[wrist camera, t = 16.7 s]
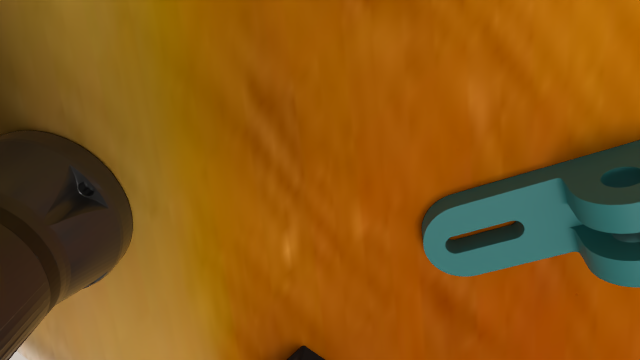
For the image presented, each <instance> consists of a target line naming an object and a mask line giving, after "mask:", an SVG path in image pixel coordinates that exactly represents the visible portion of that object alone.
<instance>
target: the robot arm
mask: <svg viewBox="0 0 640 360" xmlns="http://www.w3.org/2000/svg"><path fill="white" fill-rule="evenodd" d="M132 228H133V225H132V215H131V210H130V206H129V203H128V200H127V198H126V195H125V193H124V191H123V189H122V188H121V186H120V184H119V183H118V181H117V180H116V178H115V177H114V176H113V174H112V173H111V172H110V171H109V170H108V169H107V167H106V166H105V165H104V164H103V163H102V162H100V161H99V160H98V159H97V158H96V157H95V156H93V155H92V154H91V153H90V152H88V151H87V150H85V149H84V148H82V147H81V146H79V145H77V144H75V143H73V142H71V141H69V140H67V139H65V138H62V137H59V136H57V135H53V134H50V133H45V132H39V131H15V132H10V133H7V134H4V135H1V136H0V360H9V359H10V358H11V357H12V355H13V354H14V353H15V352H16V351H17V349H18V348H19V347H20V346H21V345H22V344H23V342H24V341H25V340H26V339H27V338H28V336H29V335H30V334H31V333H32V332H33V330H34V329H35V328H36V327H37V326H38V324H39V323H40V322H41V321H42V320H43V318H44V317H45V316H46V315H47V314H48V313H49V312H50V310H51V309H52V308H53V307H54V306H55V305H56V304H58V303H60V302H61V301H63V300H65V299H66V298H68V297H70V296H71V295H73V294H75V293H76V292H78V291H80V290H81V289H83V288H86V287H89V286H91V285H93V284H95V283H96V282H98V281H100V280H101V279H103V278H104V277H105V276H106V275H107V274H108V273H109V272H110V271H111V270H112V269H113V268H114V267H115V265H116V264H117V263H118V262H119V260H120V259H121V258H122V257H123V255H124V254H125V252H126V251H127V249H128V246H129V244H130V241H131V237H132Z"/></svg>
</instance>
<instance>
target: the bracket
mask: <svg viewBox="0 0 640 360" xmlns="http://www.w3.org/2000/svg"><path fill="white" fill-rule="evenodd" d="M509 221H516V222H515V223H514V224H512V225H508V226H504V227H501V228H497V229H493V230H489V231H486V232H482V233H478V234H474V235H470V236H467V237H463V238H459V239H455V240H450V239H449V238H450V237H453V236H457V235H460V234H464V233H468V232H472V231H475V230H479V229H483V228H487V227H490V226H494V225H498V224H502V223H505V222H509ZM422 236H423V245H424V250H425V253H426V256H427V257H428V259H429V260H430V262H431V263H432V264H433V265H434V266H435V267H437V268H438V269H440V270H441V271H443V272H445V273H448V274H451V275H455V276H475V275H479V274H483V273H487V272H492V271H496V270H500V269H504V268H508V267H512V266H516V265H520V264H524V263H528V262H533V261H537V260H541V259H545V258H549V257H553V256H557V255H561V254H565V253H570V252H579V253H580V254H581V256H582V257H583V259H584V261H585V263H586V264H587V266H588V268H589V269H590V270H591V272H592V273H593V274H595V275H596V276H597V277H599V278H600V279H602V280H604V281H607V282H609V283H612V284H616V285H620V286H626V287H640V140H638V141H635V142H631V143H628V144H624V145H621V146H618V147H614V148H611V149H607V150H604V151H600V152H597V153H593V154H590V155H586V156H583V157H579V158H576V159H573V160H569V161H566V162H562V163H559V164H555V165H552V166H548V167H545V168H541V169H538V170H534V171H531V172H527V173H524V174H521V175H517V176H514V177H510V178H507V179H503V180H500V181H496V182H493V183H489V184H486V185H482V186H479V187H475V188H472V189H469V190H465V191H462V192H458V193H455V194H451V195H448V196H446V197H444V198H442V199H440V200H438V201H437V202H436V203H434V204H433V205H432V206H431V207H430V208H429V210H428V211H427V213H426V214H425V217H424V219H423V222H422Z"/></svg>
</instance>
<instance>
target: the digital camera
mask: <svg viewBox="0 0 640 360" xmlns="http://www.w3.org/2000/svg"><path fill="white" fill-rule="evenodd" d="M287 360H325V359H323V358H322V357H320V356H319V355H317V354H316V353H314V352H313V351H311V350H310V349H308V348H307V347H306V346H302V347H301V348H300V349H299V350H297V351H296V352H295V353H294V354H293V355H292V356H291V357H290V358H288V359H287Z"/></svg>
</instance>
